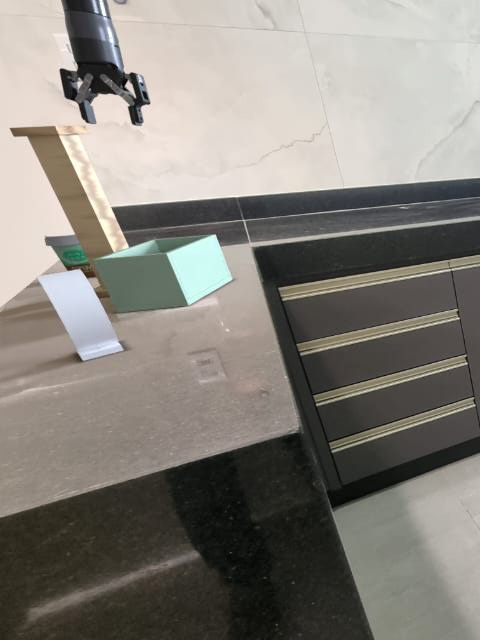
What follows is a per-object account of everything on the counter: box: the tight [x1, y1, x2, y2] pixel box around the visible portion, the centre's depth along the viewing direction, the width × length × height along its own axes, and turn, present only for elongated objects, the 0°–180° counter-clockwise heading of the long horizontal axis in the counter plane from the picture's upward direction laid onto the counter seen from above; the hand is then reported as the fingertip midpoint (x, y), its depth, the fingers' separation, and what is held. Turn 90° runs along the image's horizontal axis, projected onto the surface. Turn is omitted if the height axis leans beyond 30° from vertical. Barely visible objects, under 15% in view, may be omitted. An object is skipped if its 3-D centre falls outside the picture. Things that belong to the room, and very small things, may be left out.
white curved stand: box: [36, 269, 124, 362], centre depth 77 cm, size 5×6×12 cm
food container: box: [44, 234, 96, 279], centre depth 124 cm, size 12×6×10 cm, turn 122°
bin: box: [92, 233, 233, 314], centre depth 105 cm, size 19×12×10 cm, turn 13°
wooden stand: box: [9, 125, 130, 299], centre depth 106 cm, size 9×9×32 cm
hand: (114, 124), depth 115 cm, fingers open, 8 cm apart
